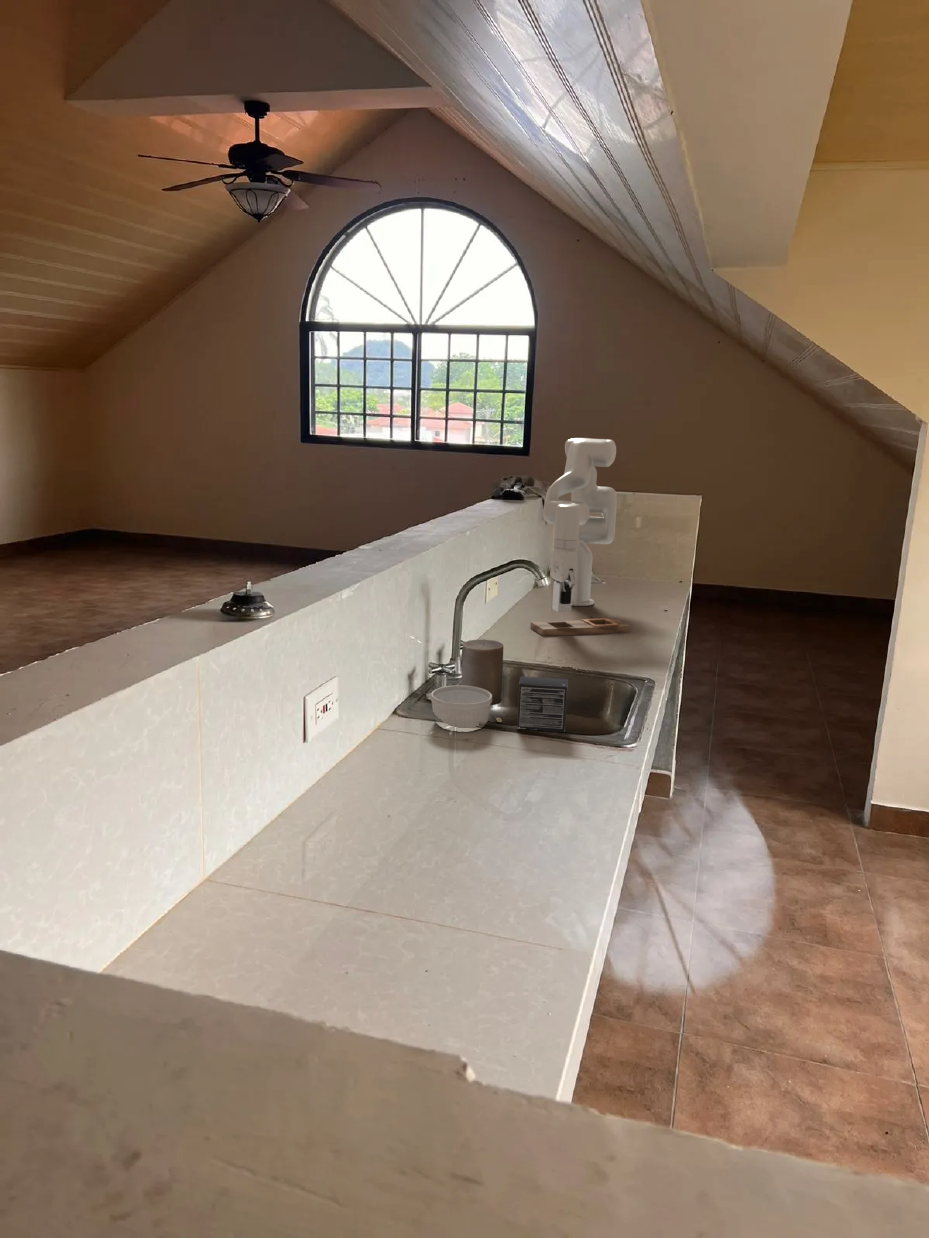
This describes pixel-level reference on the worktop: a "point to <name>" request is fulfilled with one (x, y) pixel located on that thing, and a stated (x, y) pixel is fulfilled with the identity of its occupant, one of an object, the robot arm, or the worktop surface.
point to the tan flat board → (580, 627)
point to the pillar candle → (483, 666)
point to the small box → (542, 703)
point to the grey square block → (557, 598)
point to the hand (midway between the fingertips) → (562, 601)
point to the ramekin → (461, 705)
